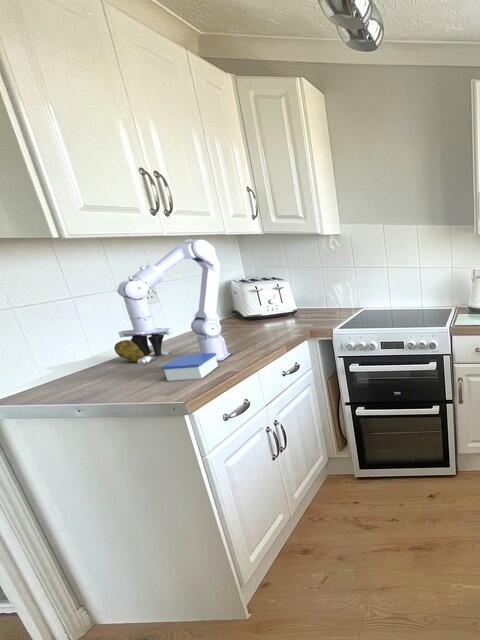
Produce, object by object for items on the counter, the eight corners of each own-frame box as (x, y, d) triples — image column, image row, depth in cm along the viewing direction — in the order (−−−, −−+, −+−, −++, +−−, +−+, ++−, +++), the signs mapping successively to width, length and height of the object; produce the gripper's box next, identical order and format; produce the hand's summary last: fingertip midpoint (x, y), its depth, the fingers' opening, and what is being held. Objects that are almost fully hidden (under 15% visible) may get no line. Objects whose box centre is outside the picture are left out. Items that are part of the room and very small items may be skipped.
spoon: (158, 354, 151) (156, 347, 150) (173, 353, 152) (171, 346, 152) (133, 367, 137) (130, 359, 136) (150, 366, 138) (147, 358, 137)
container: (186, 368, 150) (182, 355, 148) (219, 365, 153) (215, 352, 151) (165, 381, 137) (161, 367, 135) (202, 378, 139) (198, 364, 138)
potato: (133, 366, 153) (125, 345, 150) (115, 361, 158) (107, 341, 155) (158, 360, 160) (152, 340, 157) (141, 356, 165) (134, 336, 162)
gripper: (107, 320, 134) (121, 360, 139) (159, 318, 138) (171, 357, 142) (120, 316, 141) (134, 355, 145) (170, 314, 144) (181, 351, 149)
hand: (153, 355), depth 144 cm, fingers closed on spoon, 2 cm apart
